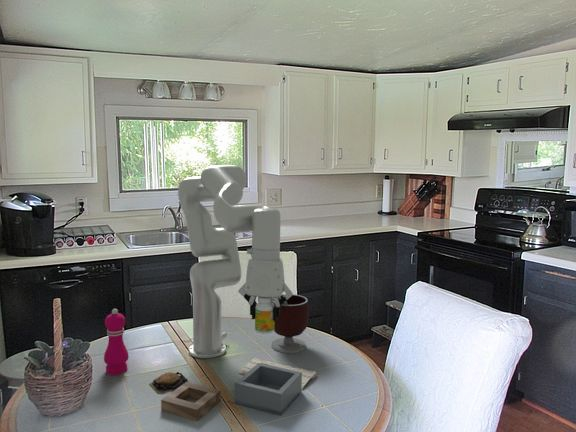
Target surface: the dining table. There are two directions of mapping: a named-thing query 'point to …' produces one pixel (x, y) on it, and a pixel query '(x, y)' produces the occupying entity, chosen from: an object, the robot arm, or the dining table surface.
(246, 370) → the newspaper
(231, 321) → the dining table surface
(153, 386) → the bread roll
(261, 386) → the bin
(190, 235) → the robot arm
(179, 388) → the socket collar
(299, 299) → the mate gourd
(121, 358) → the pepper mill
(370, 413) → the dining table surface
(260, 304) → the supplement bottle
